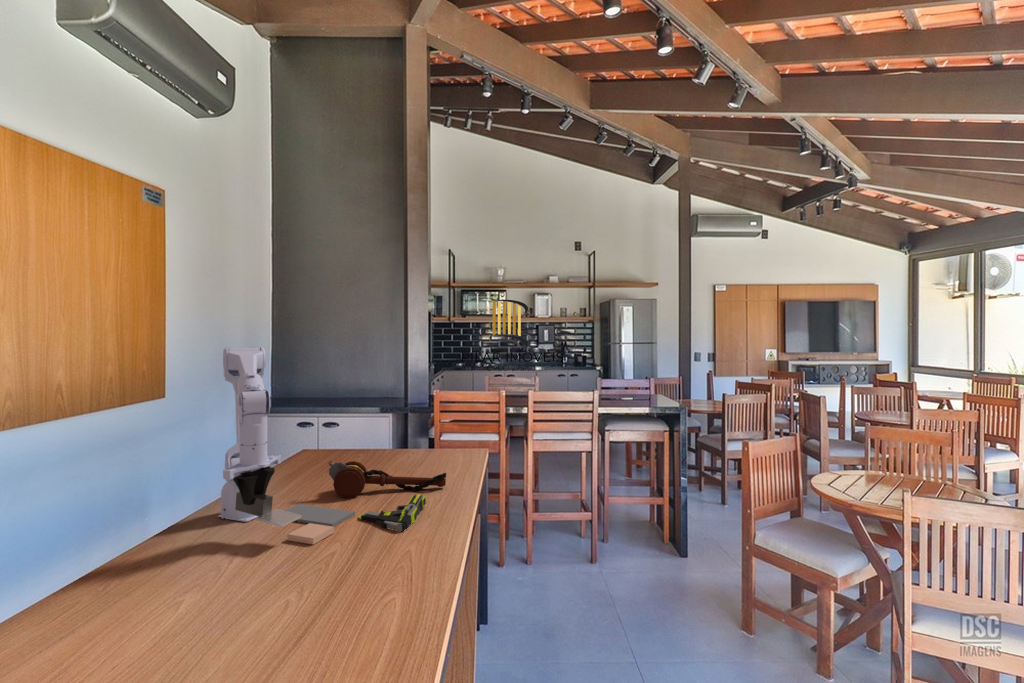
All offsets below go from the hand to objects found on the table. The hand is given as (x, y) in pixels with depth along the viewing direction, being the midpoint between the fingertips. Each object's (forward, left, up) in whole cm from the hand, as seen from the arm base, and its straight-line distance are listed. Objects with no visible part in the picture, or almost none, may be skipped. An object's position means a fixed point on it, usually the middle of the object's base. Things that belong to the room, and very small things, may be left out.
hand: (253, 502), depth 115 cm
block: (+9, +5, -8) cm, 12 cm away
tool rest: (+4, +16, -8) cm, 18 cm away
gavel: (+11, +40, -9) cm, 42 cm away
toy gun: (+22, +22, -9) cm, 32 cm away
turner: (+3, 0, -3) cm, 4 cm away
